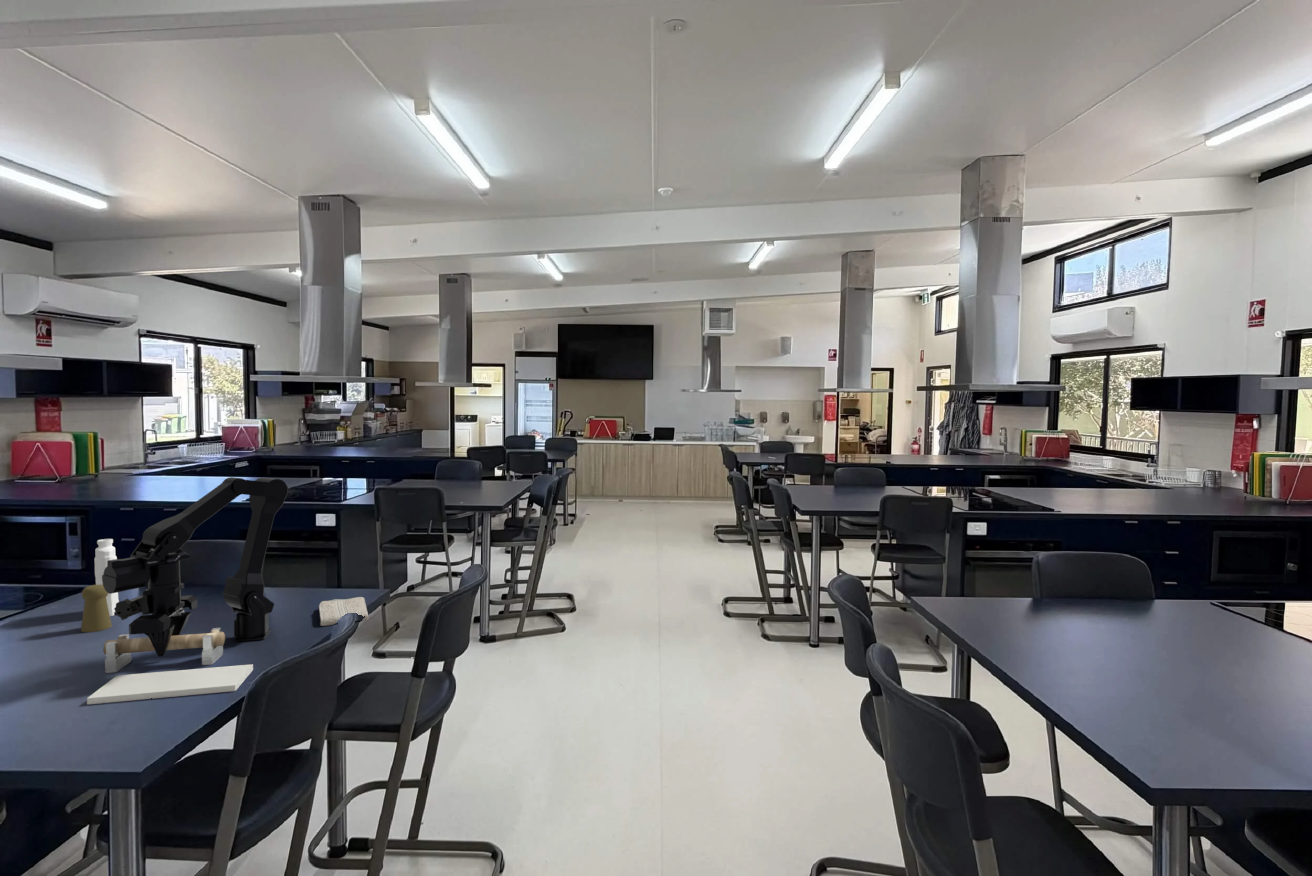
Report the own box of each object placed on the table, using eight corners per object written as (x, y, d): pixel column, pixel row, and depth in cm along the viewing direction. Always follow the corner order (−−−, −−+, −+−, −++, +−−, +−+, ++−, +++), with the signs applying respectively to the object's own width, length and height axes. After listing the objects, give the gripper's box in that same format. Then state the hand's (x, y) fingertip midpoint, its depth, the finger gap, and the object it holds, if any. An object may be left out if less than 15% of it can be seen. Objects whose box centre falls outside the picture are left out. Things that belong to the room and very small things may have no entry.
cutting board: (253, 669, 143) (252, 664, 143) (235, 690, 133) (235, 684, 133) (117, 681, 137) (117, 675, 137) (87, 704, 126) (86, 698, 126)
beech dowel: (225, 643, 150) (224, 630, 150) (220, 647, 148) (219, 634, 147) (110, 651, 145) (110, 638, 145) (103, 656, 142) (103, 642, 142)
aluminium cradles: (223, 653, 152) (222, 627, 152) (212, 664, 146) (211, 636, 146) (120, 661, 147) (119, 634, 146) (105, 672, 141) (104, 644, 140)
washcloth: (364, 604, 192) (363, 593, 192) (370, 622, 177) (370, 610, 176) (318, 609, 187) (318, 598, 186) (320, 629, 171) (320, 617, 171)
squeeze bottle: (96, 618, 175) (121, 614, 179) (94, 544, 174) (118, 541, 178) (93, 610, 182) (117, 606, 186) (91, 538, 181) (115, 536, 185)
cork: (93, 633, 164) (92, 589, 164) (74, 631, 166) (72, 587, 165) (117, 625, 170) (116, 583, 170) (98, 623, 172) (97, 581, 171)
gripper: (142, 573, 152) (143, 640, 153) (97, 596, 134) (100, 671, 135) (197, 571, 155) (199, 636, 156) (161, 593, 137) (163, 666, 138)
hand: (166, 651), depth 146 cm, fingers open, 5 cm apart
